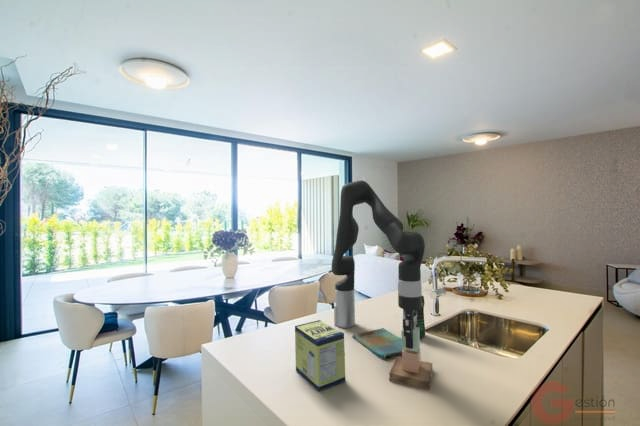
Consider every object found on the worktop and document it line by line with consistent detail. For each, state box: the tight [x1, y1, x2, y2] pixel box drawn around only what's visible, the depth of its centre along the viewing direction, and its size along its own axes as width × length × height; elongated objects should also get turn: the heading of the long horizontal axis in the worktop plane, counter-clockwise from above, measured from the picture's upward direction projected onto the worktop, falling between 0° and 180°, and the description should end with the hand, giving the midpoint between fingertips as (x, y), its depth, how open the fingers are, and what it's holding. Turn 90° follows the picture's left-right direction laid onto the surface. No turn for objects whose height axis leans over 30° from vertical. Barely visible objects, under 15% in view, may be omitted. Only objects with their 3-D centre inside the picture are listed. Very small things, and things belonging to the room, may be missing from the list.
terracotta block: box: [401, 347, 421, 373], centre depth 98 cm, size 5×5×6 cm
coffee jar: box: [402, 295, 426, 339], centre depth 130 cm, size 10×8×19 cm
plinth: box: [388, 356, 434, 390], centre depth 98 cm, size 12×12×2 cm
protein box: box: [294, 319, 346, 392], centre depth 99 cm, size 10×16×16 cm
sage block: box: [401, 327, 421, 352], centre depth 98 cm, size 5×5×6 cm
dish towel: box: [351, 327, 403, 361], centre depth 122 cm, size 17×23×2 cm
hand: (410, 344), depth 98 cm, fingers closed on sage block, 5 cm apart
